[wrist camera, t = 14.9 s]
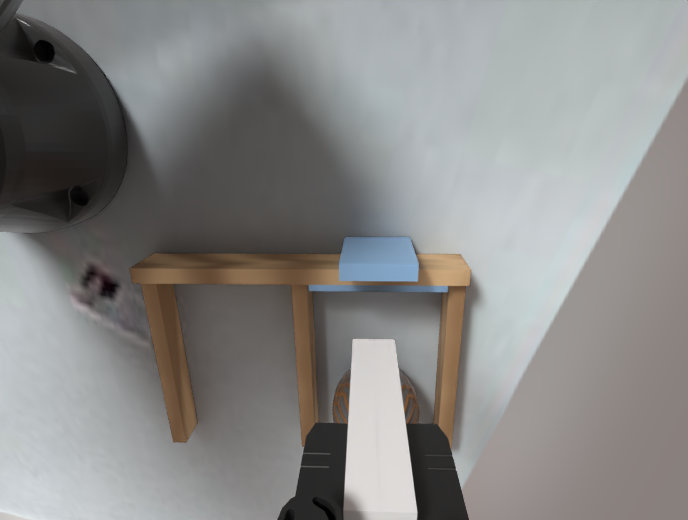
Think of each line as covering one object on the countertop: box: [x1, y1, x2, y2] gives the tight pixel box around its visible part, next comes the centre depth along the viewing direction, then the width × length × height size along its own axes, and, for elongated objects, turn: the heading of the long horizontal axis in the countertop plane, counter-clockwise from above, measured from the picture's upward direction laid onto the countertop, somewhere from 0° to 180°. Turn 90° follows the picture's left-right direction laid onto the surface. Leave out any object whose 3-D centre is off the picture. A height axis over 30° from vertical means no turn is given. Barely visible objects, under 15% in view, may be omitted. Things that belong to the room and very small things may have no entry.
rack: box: [129, 253, 471, 448], centre depth 33 cm, size 25×17×4 cm
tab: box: [339, 237, 419, 281], centre depth 28 cm, size 5×1×6 cm, turn 91°
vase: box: [332, 368, 419, 424], centre depth 31 cm, size 7×7×9 cm
